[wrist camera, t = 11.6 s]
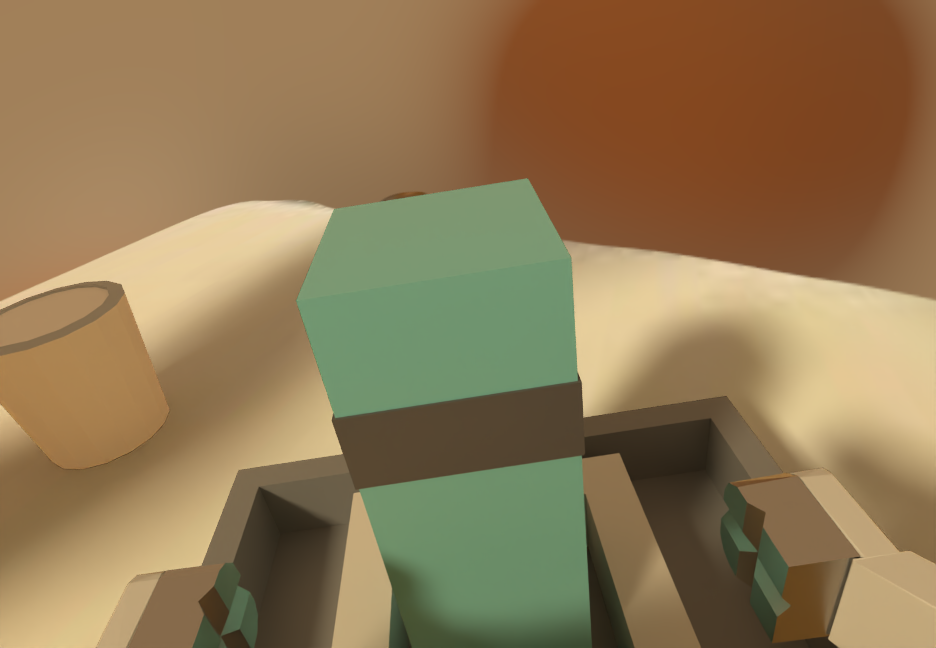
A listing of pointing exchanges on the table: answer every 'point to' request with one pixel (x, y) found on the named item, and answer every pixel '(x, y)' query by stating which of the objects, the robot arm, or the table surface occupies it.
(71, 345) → the beige cylinder
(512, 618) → the plug
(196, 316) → the table surface
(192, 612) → the robot arm
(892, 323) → the table surface
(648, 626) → the grey tray
